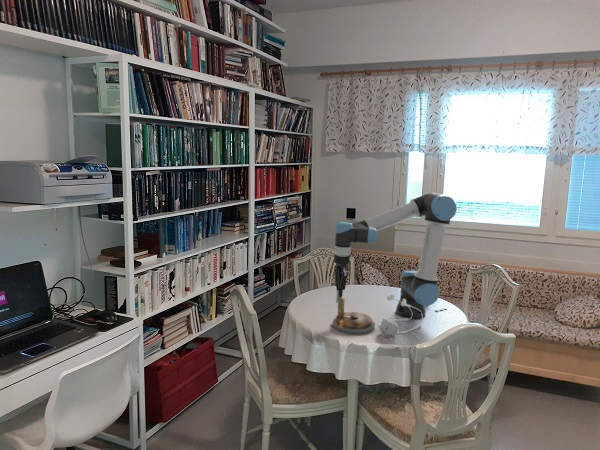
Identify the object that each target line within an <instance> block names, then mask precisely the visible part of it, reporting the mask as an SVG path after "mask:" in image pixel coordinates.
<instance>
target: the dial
mask: <svg viewBox="0 0 600 450" xmlns="http://www.w3.org/2000/svg"><path fill="white" fill-rule="evenodd" d="M335 318H336V322H337V324H340V321H344V324H343V327H346V328H352V329H363V328H367V327H370V326H371V325H372V321H373V319H372V317H371V316H370V315H368V314H365V313H362V312H356V311H347V312H345V297H344V296H342V297H338V303H337V315H336V317H335Z"/></svg>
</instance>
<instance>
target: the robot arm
mask: <svg viewBox="0 0 600 450" xmlns="http://www.w3.org/2000/svg"><path fill="white" fill-rule="evenodd" d="M456 213H457V203H456V201H455V200H454V199H453V198H452V197H451V196H450V195H449V196H448V195H447V194H442V193H436V192H429V193H425V194H423V195H421V196H418V197H415V198H413V199H410V201H409V202H408V203H406V204H403V205H400V206H398V207H395V208H393V209H390V210H386V211H385V212H382V213H379V214H377V215H373V216H371V217H369V218H367V219H364V220H361V221H359V222H358V221H353V222H347V221H340V222H337V223H336V227H335V232H334V233H335V235H334V236H335V240H334V248H333V250H334V255H333V262H334V264H336V265H334V267H333V268H334V286H335V287H336V288H335V289H336V291H335V293H336V294H335V303H336V304H338V297H344V296H343V295H344V294H343V293H344V292H343V291H345V290H346V285H347V280H348V275H349V272H348V271H347V265H349V264H350V262H351V261H350V260H351V252H352V251H351V249H352V244H375V243H376V242H377V240H378V231H381V230H384V229H387V228H388V227H392V226H395V225H397V224H399V223H400V224H401V223H402V222H405V221H407V220H410V219H412V218H416V219H419V218H422V217H424V221H425V223H426V228H425V231H424V232H425V233H424V238H423V242H422V244H423V245H422V249H421V254H420V259H419V264H418V269H417V270H403V271H402V273H401V277H400V278H401V279H400V297H399V300H398V303H397V305H396V308H395V313H396V315H397V316H399V317H402V318H408V319H409V318H411V316H412V313H413V316H412V318H411V319H413V320H414V319H415V320H417V319H422V316H423V318H425V317H426V306H431V305H433V304H435V303H436V302H437V301H438V300H439V297H440V289H439V287H438V282H439V278H438V277H437V272H438V271H437V270H438V267H439V266H438V265H439V260H440V255H441V250H442V245H443V241H444V237H445V231H446V227H448V226H450V221H451V219H453V218H454V217H455V215H456ZM403 299H406V304H408V305H411V306H412V307H409V308H410V309H411V310H410V309H409V308H408V307H407V306H401V302H402V301H403ZM399 301H401V302H399ZM413 307H415V308H413ZM416 308H417V309H416ZM418 309H419V310H420V311H421V312H422V314H421V312H420V311H419V310H418ZM411 311H412V312H411ZM411 319H410V320H411Z"/></svg>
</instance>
